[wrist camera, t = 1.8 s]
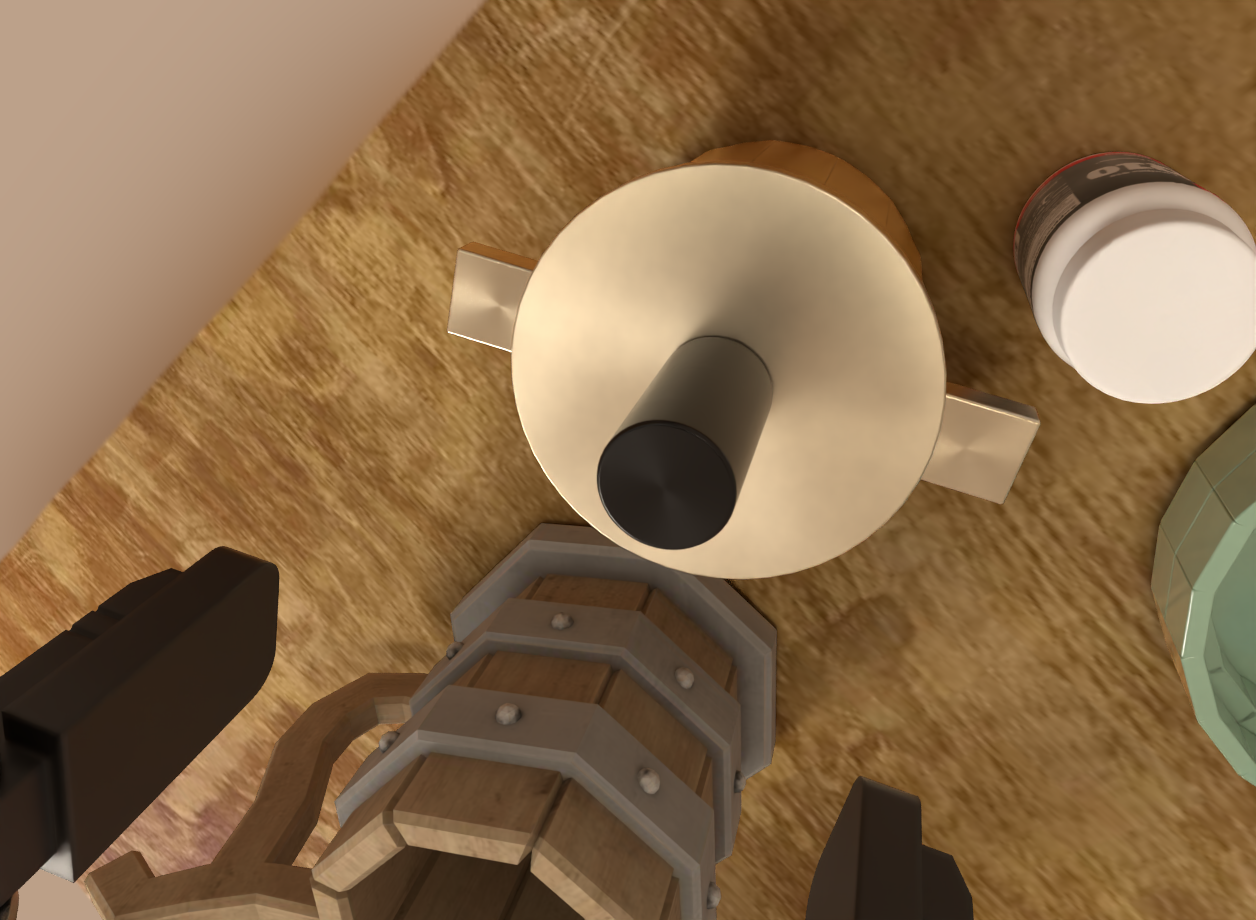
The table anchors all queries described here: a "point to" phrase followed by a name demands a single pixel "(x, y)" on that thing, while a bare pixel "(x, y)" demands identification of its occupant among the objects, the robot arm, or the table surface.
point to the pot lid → (729, 370)
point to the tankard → (513, 761)
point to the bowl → (1214, 591)
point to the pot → (973, 420)
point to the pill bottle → (1138, 277)
